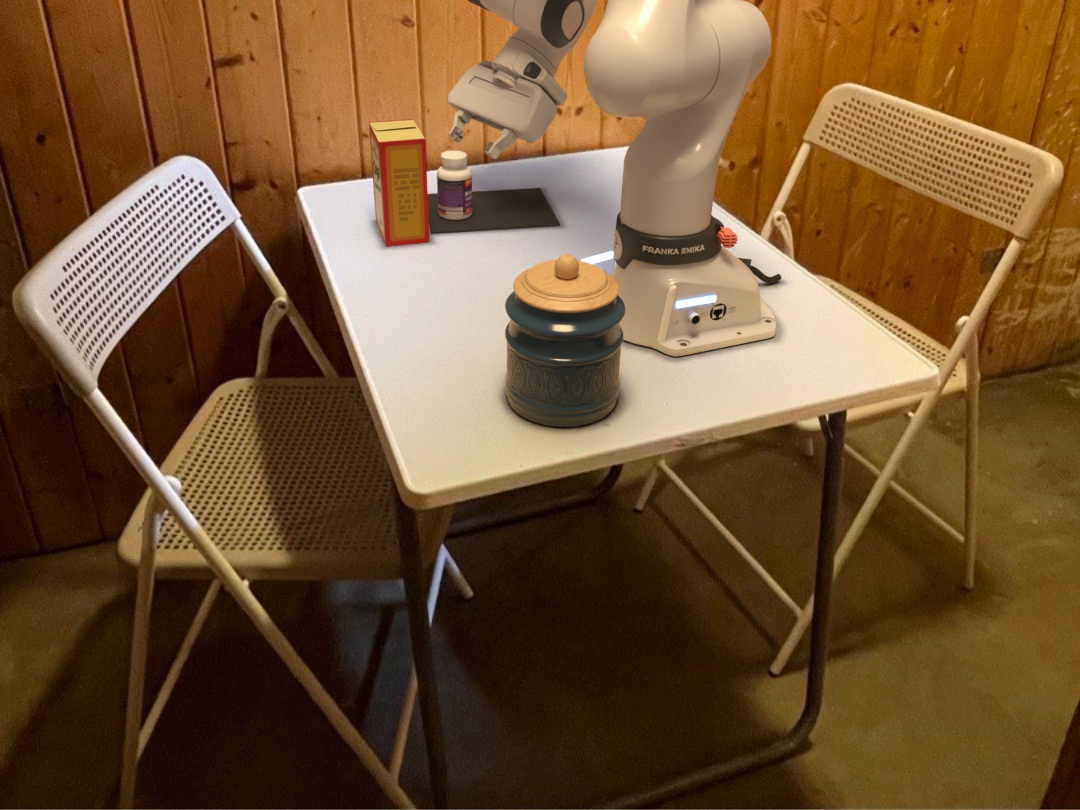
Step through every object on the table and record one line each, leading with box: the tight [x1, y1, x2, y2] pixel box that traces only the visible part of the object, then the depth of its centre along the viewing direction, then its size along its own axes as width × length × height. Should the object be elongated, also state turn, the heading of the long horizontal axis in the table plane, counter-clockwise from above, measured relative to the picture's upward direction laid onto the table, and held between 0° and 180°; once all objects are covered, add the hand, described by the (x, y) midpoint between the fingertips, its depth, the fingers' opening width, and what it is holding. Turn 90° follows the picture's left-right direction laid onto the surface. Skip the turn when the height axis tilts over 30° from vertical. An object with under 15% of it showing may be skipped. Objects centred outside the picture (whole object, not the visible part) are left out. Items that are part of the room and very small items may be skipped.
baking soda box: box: [368, 118, 431, 247], centre depth 149 cm, size 10×6×16 cm
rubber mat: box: [428, 187, 561, 235], centre depth 161 cm, size 20×16×1 cm
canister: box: [504, 253, 626, 428], centre depth 110 cm, size 13×13×18 cm
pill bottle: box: [436, 150, 473, 220], centre depth 156 cm, size 5×5×10 cm
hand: (471, 147), depth 155 cm, fingers open, 8 cm apart
